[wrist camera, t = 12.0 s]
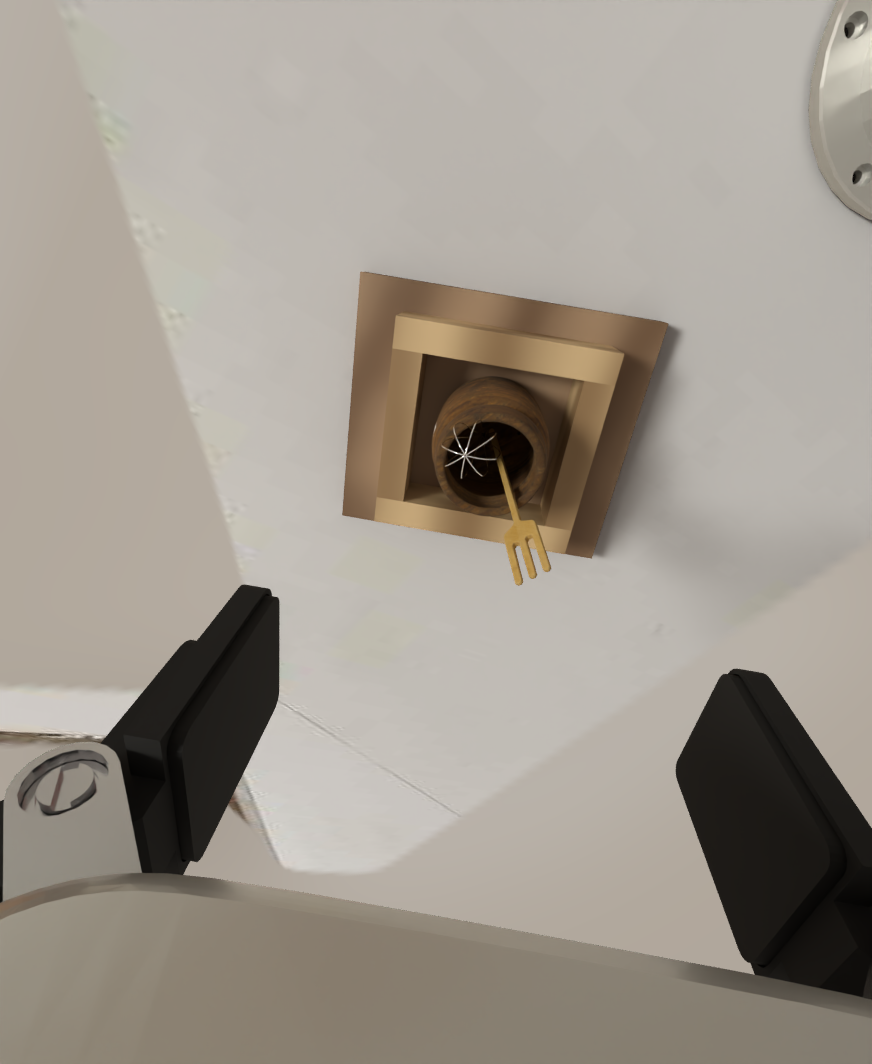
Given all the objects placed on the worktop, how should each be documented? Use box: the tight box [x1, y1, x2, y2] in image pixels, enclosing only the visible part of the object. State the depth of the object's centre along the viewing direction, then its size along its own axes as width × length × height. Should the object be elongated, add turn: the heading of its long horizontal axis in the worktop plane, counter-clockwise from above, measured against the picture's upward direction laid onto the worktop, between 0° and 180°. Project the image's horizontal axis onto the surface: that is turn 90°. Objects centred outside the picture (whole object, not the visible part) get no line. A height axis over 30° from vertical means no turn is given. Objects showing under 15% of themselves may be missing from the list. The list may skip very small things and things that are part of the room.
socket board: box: [342, 272, 668, 558], centre depth 29 cm, size 16×14×4 cm
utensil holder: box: [432, 376, 551, 586], centre depth 25 cm, size 6×6×12 cm
